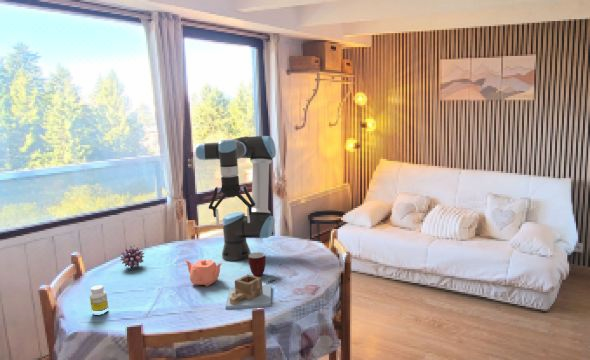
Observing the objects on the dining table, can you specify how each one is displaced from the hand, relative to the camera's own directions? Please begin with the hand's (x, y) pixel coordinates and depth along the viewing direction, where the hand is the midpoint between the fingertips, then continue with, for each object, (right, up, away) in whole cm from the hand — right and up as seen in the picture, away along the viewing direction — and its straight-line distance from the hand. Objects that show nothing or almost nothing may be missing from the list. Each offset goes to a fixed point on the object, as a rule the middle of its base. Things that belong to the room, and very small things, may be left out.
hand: (233, 223), depth 199 cm
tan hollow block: (+6, -30, -12) cm, 33 cm away
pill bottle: (-52, -35, -16) cm, 64 cm away
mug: (+10, -26, +13) cm, 31 cm away
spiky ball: (-56, -26, +33) cm, 70 cm away
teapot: (-15, -29, +8) cm, 33 cm away
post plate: (+8, -30, -9) cm, 33 cm away
